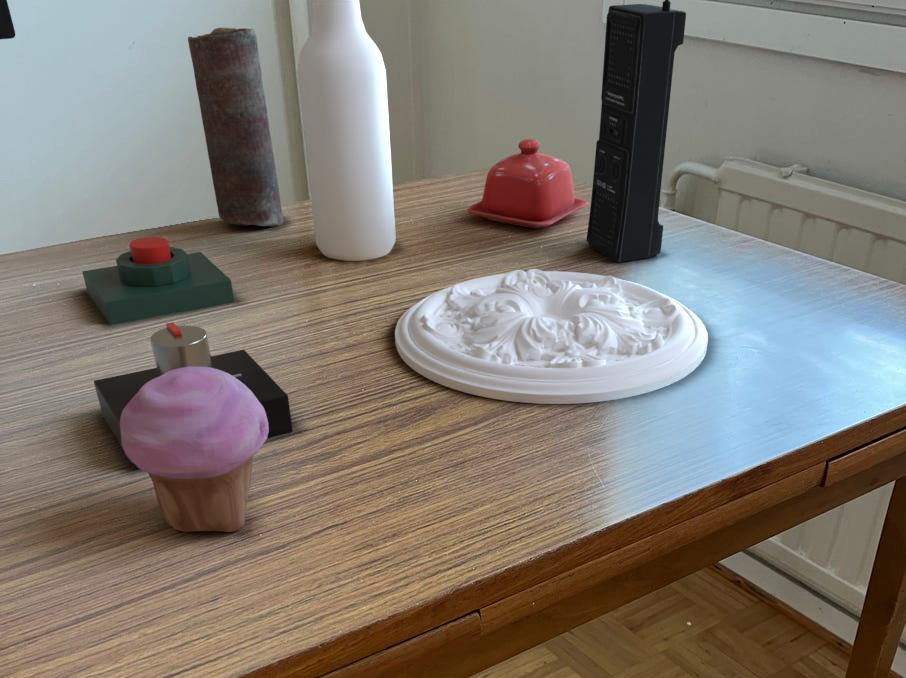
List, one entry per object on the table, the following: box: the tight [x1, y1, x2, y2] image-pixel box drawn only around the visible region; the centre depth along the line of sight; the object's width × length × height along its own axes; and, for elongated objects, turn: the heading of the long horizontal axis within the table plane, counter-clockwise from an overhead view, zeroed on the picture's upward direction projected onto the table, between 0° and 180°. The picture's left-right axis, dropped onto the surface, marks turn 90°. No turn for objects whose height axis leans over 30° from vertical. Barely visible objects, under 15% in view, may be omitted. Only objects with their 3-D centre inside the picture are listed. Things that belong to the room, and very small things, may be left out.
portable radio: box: [585, 0, 687, 263], centre depth 100 cm, size 8×6×25 cm
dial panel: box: [93, 349, 294, 471], centre depth 75 cm, size 12×10×3 cm
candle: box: [187, 27, 284, 228], centre depth 110 cm, size 8×7×20 cm
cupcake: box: [120, 367, 269, 533], centre depth 62 cm, size 9×9×10 cm
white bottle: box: [297, 0, 397, 262], centre depth 99 cm, size 9×9×30 cm
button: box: [129, 236, 171, 264], centre depth 94 cm, size 4×4×2 cm
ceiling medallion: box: [394, 268, 709, 405], centre depth 88 cm, size 28×28×3 cm
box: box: [81, 245, 235, 326], centre depth 96 cm, size 12×10×4 cm
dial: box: [149, 321, 213, 376], centre depth 72 cm, size 4×4×4 cm
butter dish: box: [466, 138, 589, 229], centre depth 115 cm, size 12×12×8 cm
